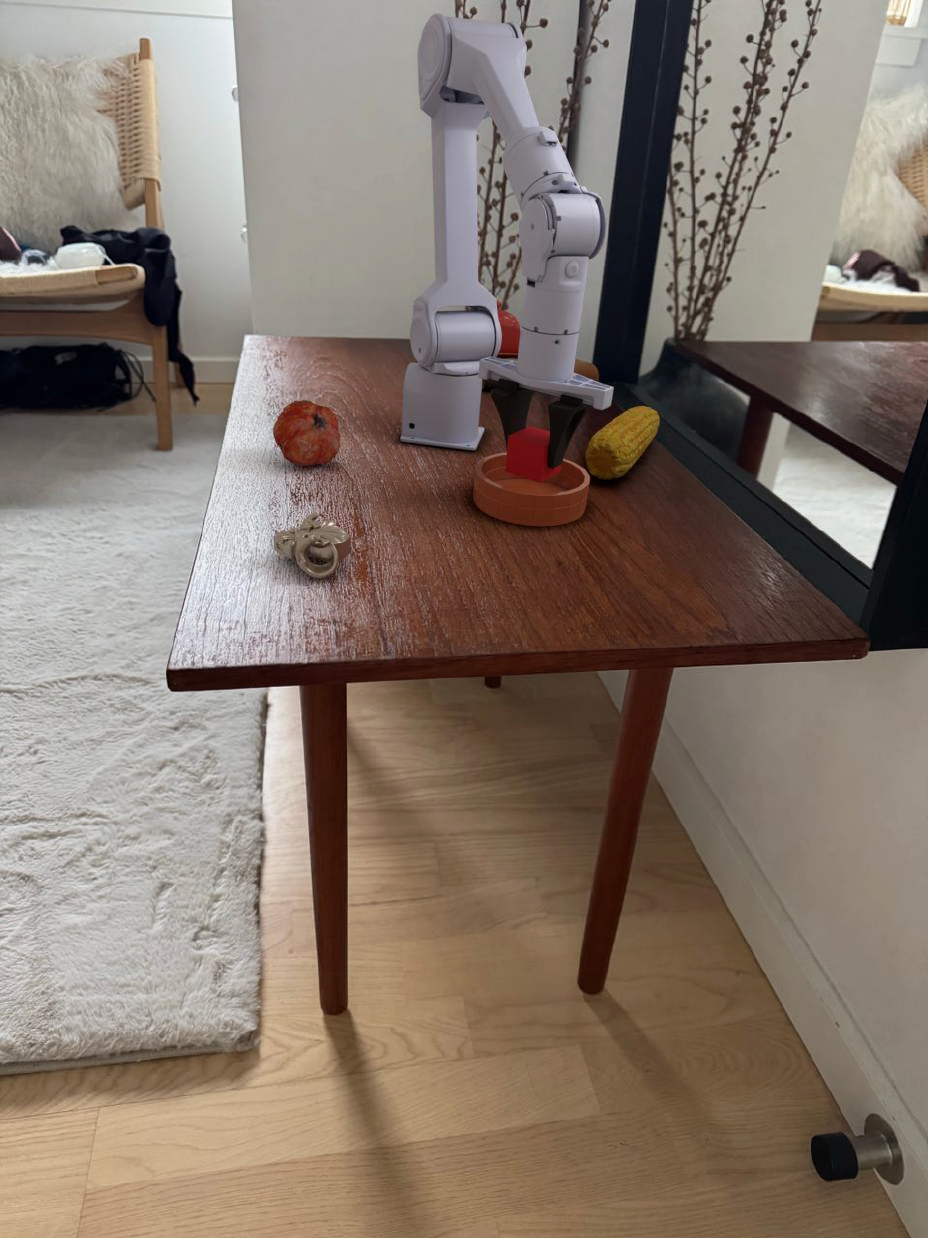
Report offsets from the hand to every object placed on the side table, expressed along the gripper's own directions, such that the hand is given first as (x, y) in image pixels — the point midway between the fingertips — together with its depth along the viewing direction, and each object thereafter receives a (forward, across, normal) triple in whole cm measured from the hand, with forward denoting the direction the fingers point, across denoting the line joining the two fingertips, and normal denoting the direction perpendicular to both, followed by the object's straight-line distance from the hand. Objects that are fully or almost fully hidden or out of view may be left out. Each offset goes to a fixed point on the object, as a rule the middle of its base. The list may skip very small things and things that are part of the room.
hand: (534, 459), depth 94 cm
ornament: (+5, +8, +26) cm, 27 cm away
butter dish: (+5, +37, -50) cm, 63 cm away
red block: (+1, 0, 0) cm, 1 cm away
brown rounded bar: (+5, +22, -39) cm, 45 cm away
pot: (+5, 0, 0) cm, 5 cm away
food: (+5, -2, -20) cm, 20 cm away
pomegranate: (+5, +25, +8) cm, 27 cm away
